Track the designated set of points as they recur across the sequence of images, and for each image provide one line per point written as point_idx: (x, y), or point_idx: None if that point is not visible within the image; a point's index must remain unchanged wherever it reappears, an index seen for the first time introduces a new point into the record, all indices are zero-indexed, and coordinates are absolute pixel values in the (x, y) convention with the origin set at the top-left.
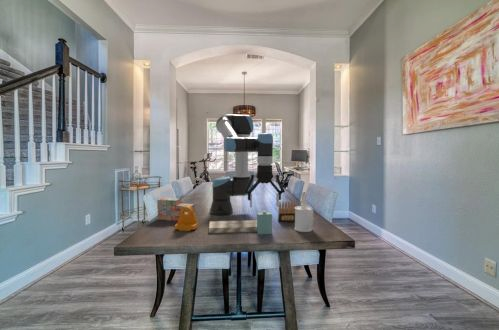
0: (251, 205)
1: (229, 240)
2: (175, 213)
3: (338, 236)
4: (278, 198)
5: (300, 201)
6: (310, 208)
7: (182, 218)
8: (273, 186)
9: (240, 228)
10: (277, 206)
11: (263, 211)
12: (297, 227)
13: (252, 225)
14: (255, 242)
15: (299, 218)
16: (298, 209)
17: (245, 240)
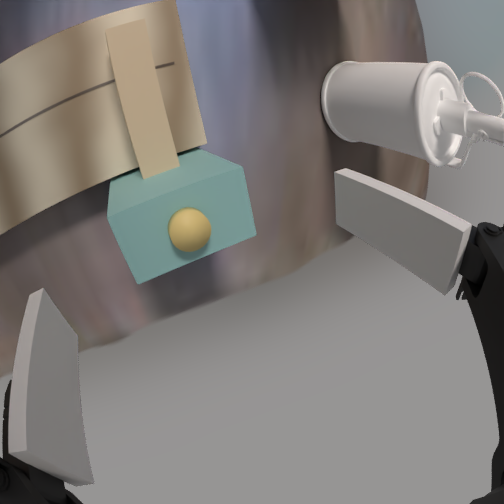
0: (73, 353)
1: None
2: None
3: (418, 175)
4: (410, 261)
5: (469, 75)
6: (461, 164)
7: None
8: (494, 396)
9: (16, 223)
10: (339, 225)
11: (179, 222)
12: (341, 126)
13: (72, 161)
14: (145, 322)
15: (385, 142)
16: (425, 152)
17: (96, 317)
